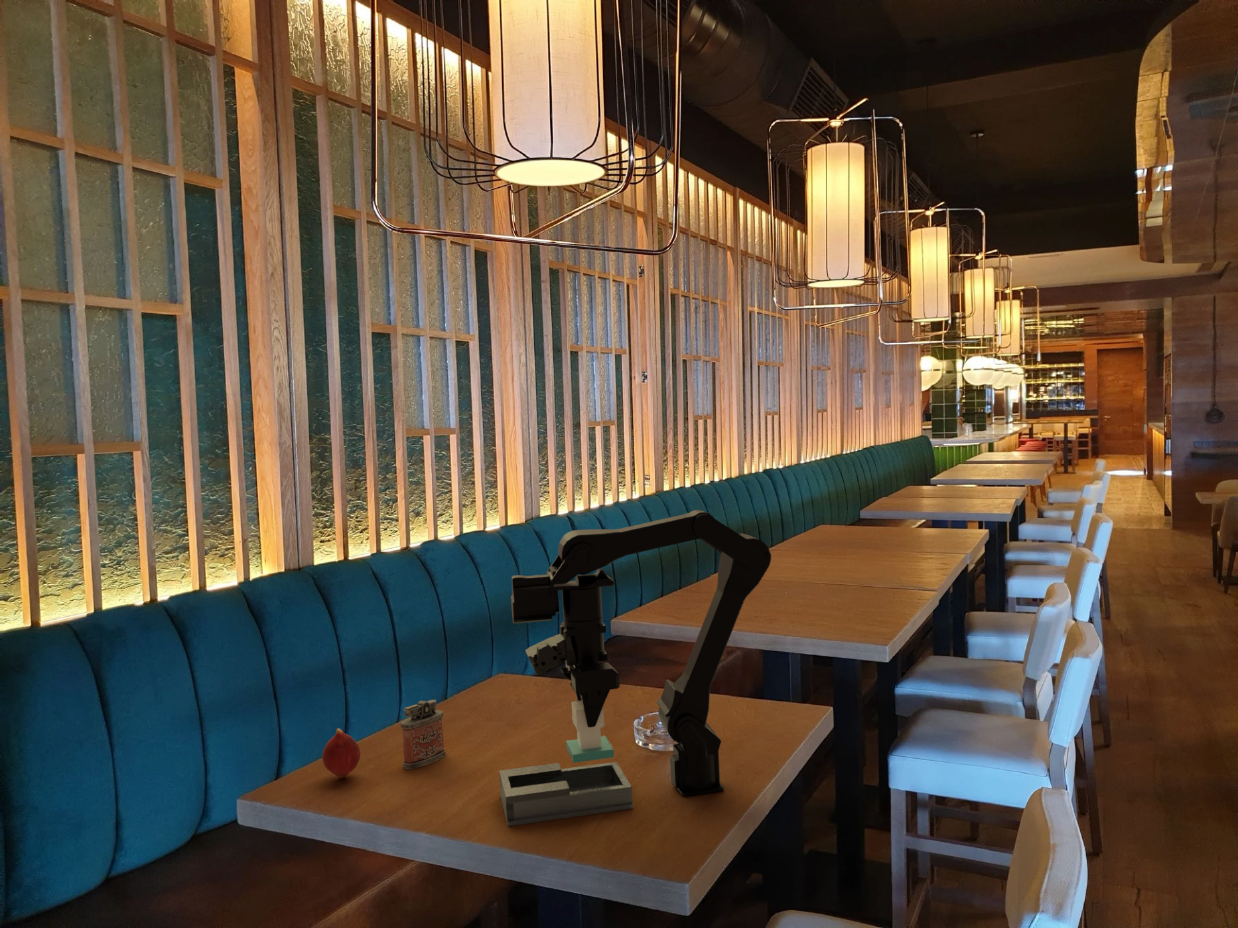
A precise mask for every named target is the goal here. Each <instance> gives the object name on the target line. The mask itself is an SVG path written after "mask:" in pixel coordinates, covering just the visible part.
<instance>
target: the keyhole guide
mask: <svg viewBox="0 0 1238 928" xmlns="http://www.w3.org/2000/svg"><path fill="white" fill-rule="evenodd" d="M499 787H500V791H499V793H500V794H499V795H500V799H501V805H502V808H503V811H504V817H505V820H506V825H507V827H513V826H520V825H527V824H533V823H541V822H542V823H543V822H547V821H555V820H561V819H569V818H575V817H582V816H590V815H597V814H604V813H609V812H610V813H611V812H612V813H613V812H618V811H619V812H620V811H624V810H626V811H627V810H633V809H634V804H633V789H632V788H633V787H632V785H631V783H630V782H629V780H628V778H627V777H626V774H625V773H624V772H623V770H622V768H621V767H620V765H619V762H617V761H612V762H611V761H610V762H605V763H597V764H589V765H581V766H574V767H565V768H561V765H560V763H559V762H555V763H547V764H541V765H539V764H538V765H532V766H524V767H517V768H516V767H515V768H507V769H500V770H499Z"/></svg>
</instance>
